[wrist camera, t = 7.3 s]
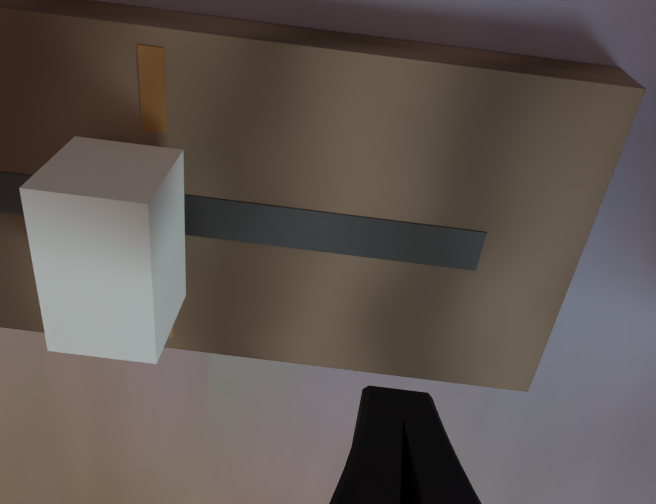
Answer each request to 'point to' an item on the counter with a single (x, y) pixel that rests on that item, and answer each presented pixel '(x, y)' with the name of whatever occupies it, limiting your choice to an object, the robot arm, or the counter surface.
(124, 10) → the brown flat slab
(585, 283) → the counter surface
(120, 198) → the fader
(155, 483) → the counter surface
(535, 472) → the counter surface
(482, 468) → the counter surface
